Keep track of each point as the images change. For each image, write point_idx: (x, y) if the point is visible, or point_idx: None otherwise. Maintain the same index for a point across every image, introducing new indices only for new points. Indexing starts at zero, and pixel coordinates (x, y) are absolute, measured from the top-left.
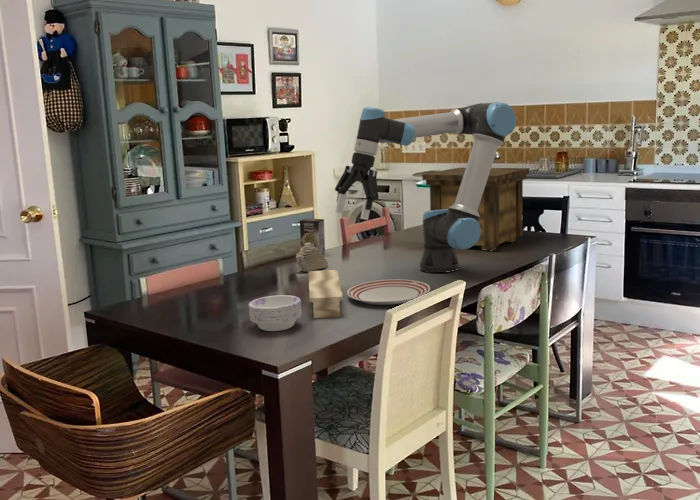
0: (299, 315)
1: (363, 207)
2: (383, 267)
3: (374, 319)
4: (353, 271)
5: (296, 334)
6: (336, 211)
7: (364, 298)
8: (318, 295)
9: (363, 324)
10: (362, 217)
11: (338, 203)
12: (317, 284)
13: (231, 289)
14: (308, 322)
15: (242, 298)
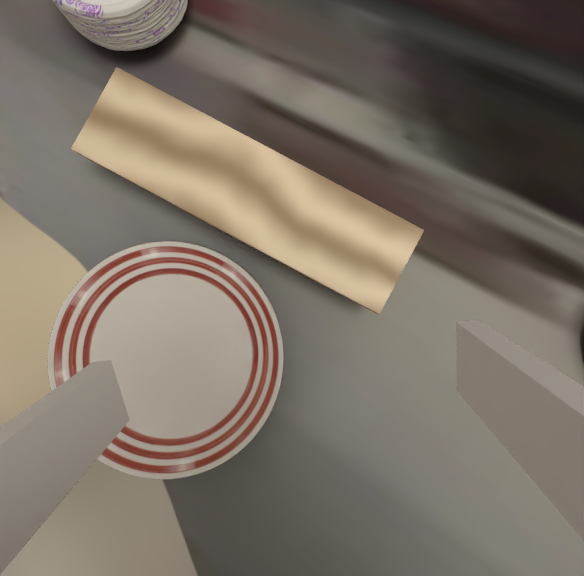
0: (69, 21)
1: (7, 429)
2: (486, 553)
3: (38, 215)
4: (502, 449)
5: (59, 23)
6: (465, 325)
7: (193, 290)
8: (127, 102)
9: (22, 175)
10: (84, 372)
11: (517, 369)
12: (244, 164)
13: (542, 66)
14: None
15: (428, 52)
